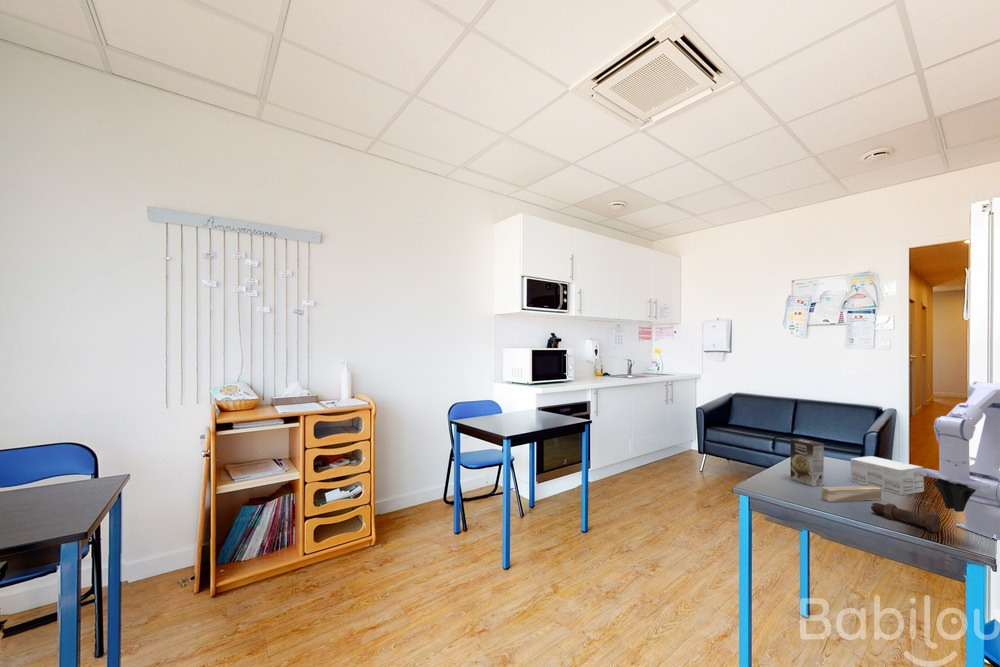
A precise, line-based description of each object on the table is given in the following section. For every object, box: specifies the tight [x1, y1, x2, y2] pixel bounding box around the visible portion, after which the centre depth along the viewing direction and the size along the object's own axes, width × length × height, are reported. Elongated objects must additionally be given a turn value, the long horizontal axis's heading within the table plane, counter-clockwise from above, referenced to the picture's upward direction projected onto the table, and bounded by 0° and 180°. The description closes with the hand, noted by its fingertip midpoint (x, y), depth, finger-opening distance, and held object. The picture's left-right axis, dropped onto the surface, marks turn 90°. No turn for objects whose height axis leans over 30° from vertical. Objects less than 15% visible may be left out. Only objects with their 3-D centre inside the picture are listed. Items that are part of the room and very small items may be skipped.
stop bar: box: [821, 485, 882, 503], centre depth 147 cm, size 3×20×4 cm, turn 97°
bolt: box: [870, 502, 941, 533], centre depth 129 cm, size 6×5×15 cm
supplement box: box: [849, 455, 925, 496], centre depth 162 cm, size 17×13×9 cm
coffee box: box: [790, 438, 825, 487], centre depth 166 cm, size 9×6×16 cm
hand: (954, 509), depth 117 cm, fingers closed
